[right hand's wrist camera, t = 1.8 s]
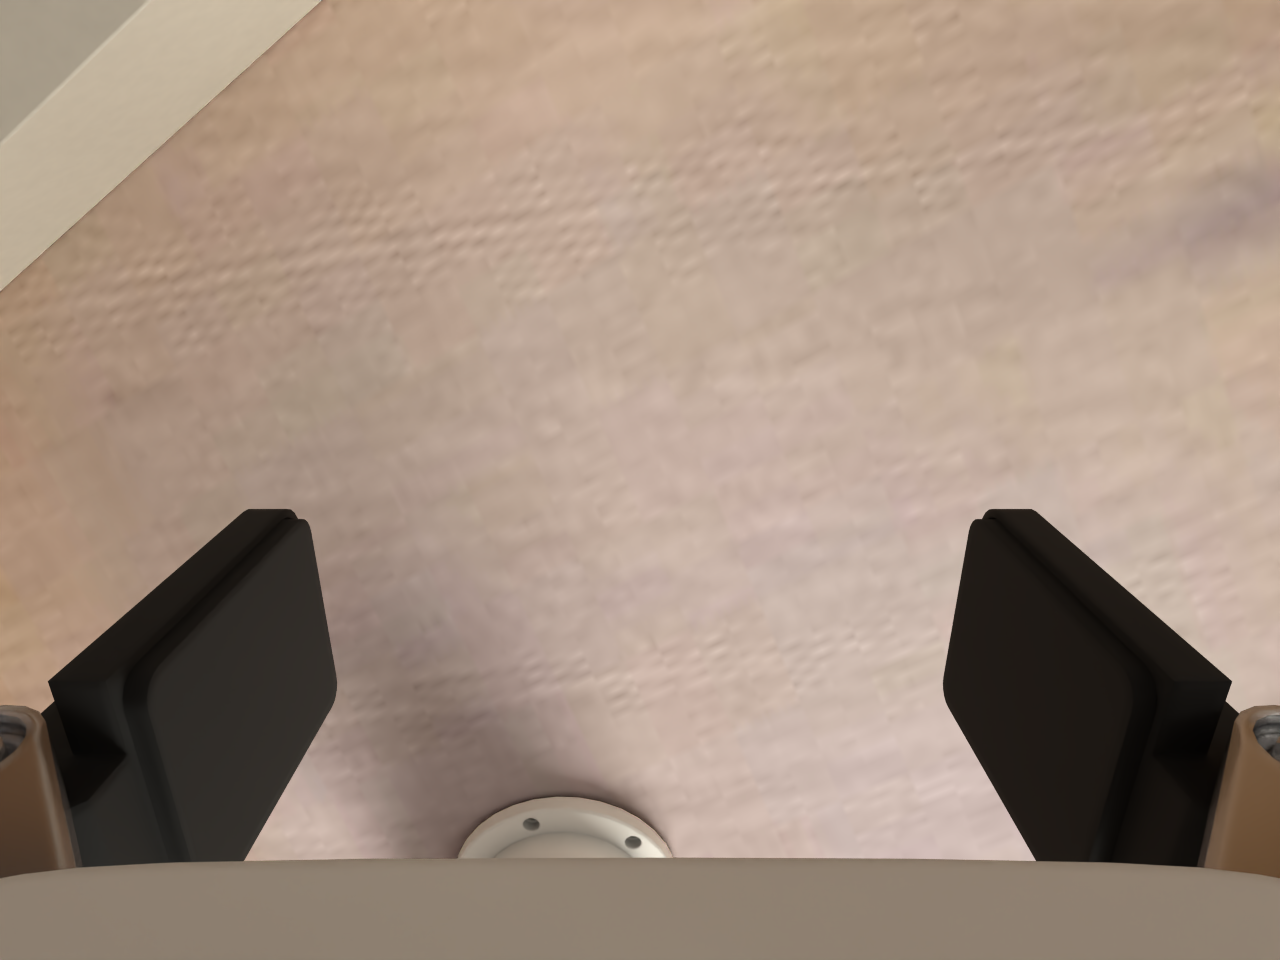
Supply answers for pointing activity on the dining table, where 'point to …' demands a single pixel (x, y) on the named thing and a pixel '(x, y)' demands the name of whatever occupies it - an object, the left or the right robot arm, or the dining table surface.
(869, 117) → the dining table surface
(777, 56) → the dining table surface
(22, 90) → the beam
